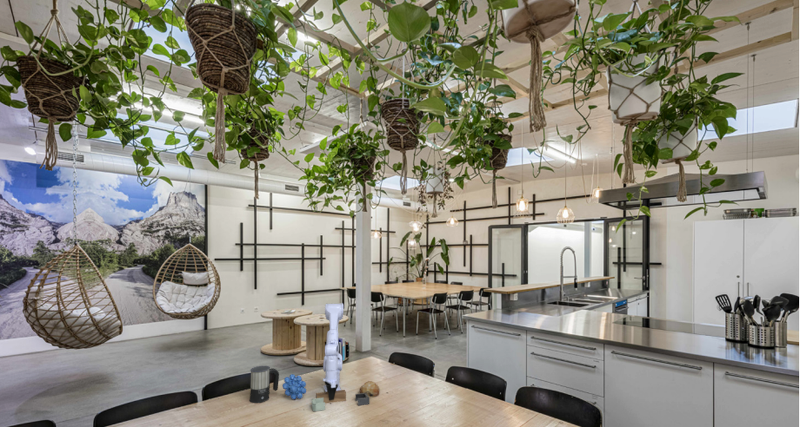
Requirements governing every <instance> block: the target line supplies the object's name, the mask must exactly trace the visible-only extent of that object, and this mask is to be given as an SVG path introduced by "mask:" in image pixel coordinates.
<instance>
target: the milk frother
mask: <svg viewBox="0 0 800 427" xmlns="http://www.w3.org/2000/svg"><path fill="white" fill-rule="evenodd" d="M249 372H250V392H249V402H250V403H252V404H253V403H254V404H258V403H259V404H262V403H264V402H266V401H268V400H269V399H270V394H271V393H270V390H271V389H270V388H271V387H270V385H271V384H270V383H271V380H270V379H271V374H273V380H272V390H273V391H275V392H277V391H278V389H279V380H280V374H279V371H278V369H276V368H272V367H271V366H269V365H259V366H253V367H252V368H250V370H249Z"/></svg>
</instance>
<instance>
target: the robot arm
mask: <svg viewBox="0 0 800 427" xmlns="http://www.w3.org/2000/svg"><path fill="white" fill-rule="evenodd" d="M324 306H325V307H324V315H325V320H327V321H329V330H327V333H326V344H325V346H324V356H323V364H322V365H323V366H322V367H323V368H322V370H323V373H325V378H324V377H323V378H322V382H324V384H325V385H323V389H324V392H328V395H329V400H334V397H335V392H336V391H338V390H342V389H341V386H340V383H341V381H340V379H341V378H340V377H341V375H340V374H341V372H342V371H343V356H342V354H341V353H340V352H339V351H340V345H339V322H340V321H341V320H342V319H343V317H344V303H343V302H341V303H326V304H324Z"/></svg>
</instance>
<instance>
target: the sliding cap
mask: <svg viewBox="0 0 800 427" xmlns="http://www.w3.org/2000/svg"><path fill="white" fill-rule="evenodd" d="M323 401H324V398H316V397H315V398H312V399H311V409H312V412H319V411H325V410H326V403H325V402H323Z"/></svg>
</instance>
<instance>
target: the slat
mask: <svg viewBox="0 0 800 427" xmlns="http://www.w3.org/2000/svg"><path fill="white" fill-rule="evenodd" d="M315 398H324V401H323V402H325V404H332V403H341V402H346V401H347V391H346V390H345V389H341V390H338V391H336V392H335V397H334V400H329V395H328V392H325V391H323V392H322V391H321V392H316V393H315Z"/></svg>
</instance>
